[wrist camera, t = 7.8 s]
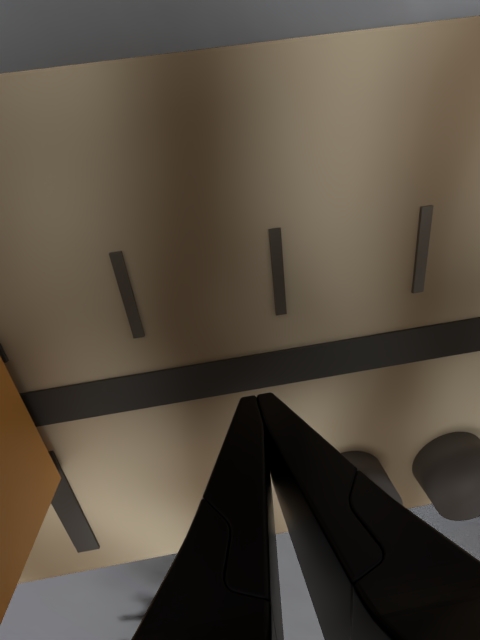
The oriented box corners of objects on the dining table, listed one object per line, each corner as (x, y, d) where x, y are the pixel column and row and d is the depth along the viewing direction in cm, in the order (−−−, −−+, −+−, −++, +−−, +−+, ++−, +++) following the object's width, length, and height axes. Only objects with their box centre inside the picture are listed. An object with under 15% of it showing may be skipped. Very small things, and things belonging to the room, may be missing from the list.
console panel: (610, 19, 9) (815, -47, 6) (493, 449, 16) (563, 518, 13) (-336, 136, 8) (-661, 126, 5) (-27, 545, 15) (-85, 647, 12)
